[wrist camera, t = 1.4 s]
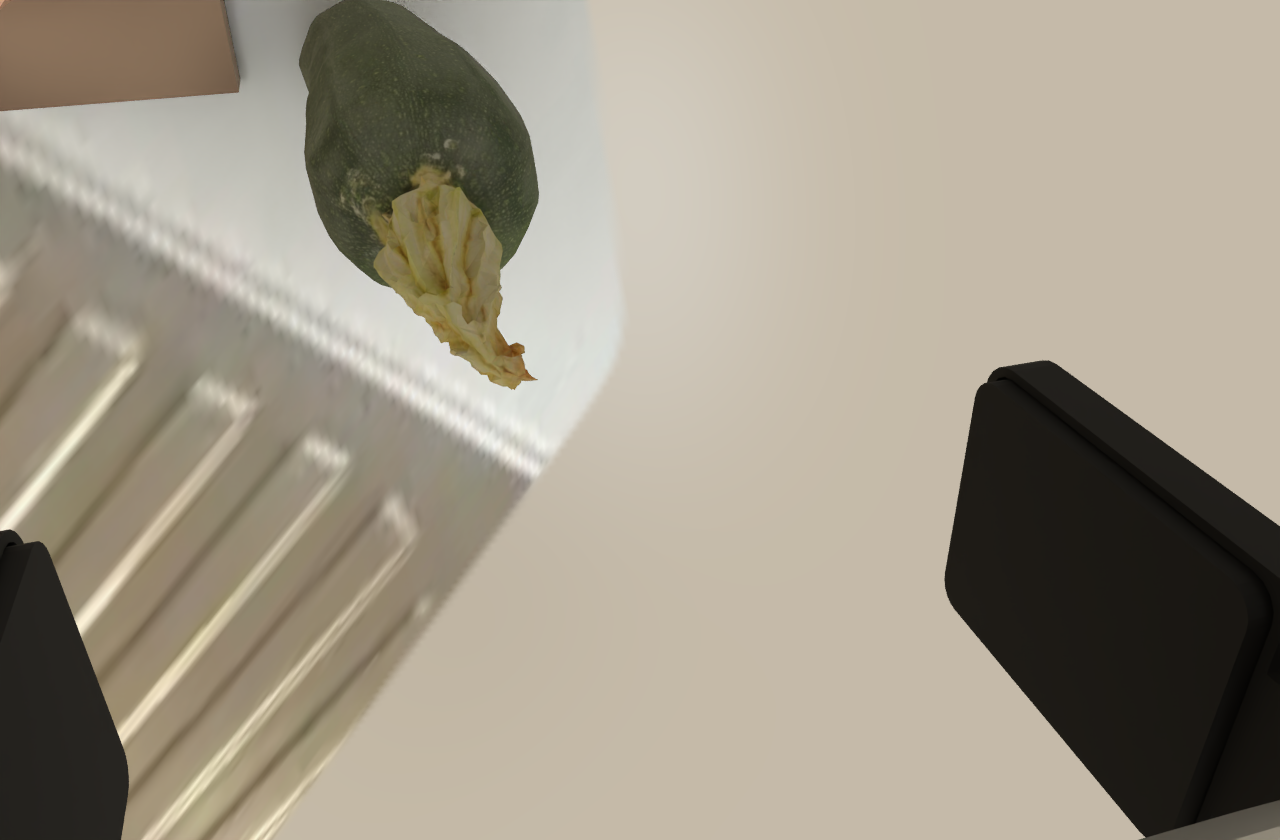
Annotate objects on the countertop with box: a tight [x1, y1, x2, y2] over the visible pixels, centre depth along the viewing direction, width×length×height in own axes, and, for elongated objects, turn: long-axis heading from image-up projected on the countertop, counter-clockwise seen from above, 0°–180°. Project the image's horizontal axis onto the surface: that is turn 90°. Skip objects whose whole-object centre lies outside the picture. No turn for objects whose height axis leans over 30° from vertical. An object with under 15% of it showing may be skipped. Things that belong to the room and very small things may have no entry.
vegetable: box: [299, 0, 539, 390], centre depth 23 cm, size 4×4×20 cm
